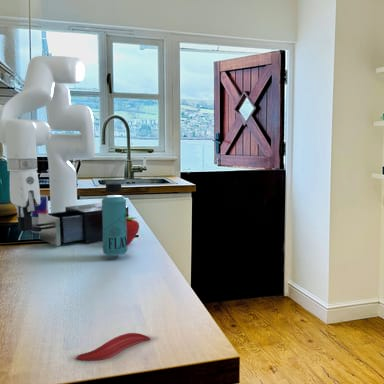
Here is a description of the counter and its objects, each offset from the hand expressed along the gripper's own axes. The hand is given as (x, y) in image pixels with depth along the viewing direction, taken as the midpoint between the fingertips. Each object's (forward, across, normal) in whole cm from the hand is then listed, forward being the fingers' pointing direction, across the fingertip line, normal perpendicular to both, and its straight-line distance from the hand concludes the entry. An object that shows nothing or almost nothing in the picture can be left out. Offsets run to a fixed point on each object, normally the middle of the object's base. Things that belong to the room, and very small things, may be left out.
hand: (25, 230), depth 135 cm
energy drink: (+6, +19, -12) cm, 23 cm away
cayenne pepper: (+6, -72, +15) cm, 73 cm away
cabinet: (+5, 0, -22) cm, 23 cm away
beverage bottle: (+6, -25, -13) cm, 29 cm away
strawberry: (+6, -15, -23) cm, 28 cm away
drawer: (+5, 0, -11) cm, 12 cm away
